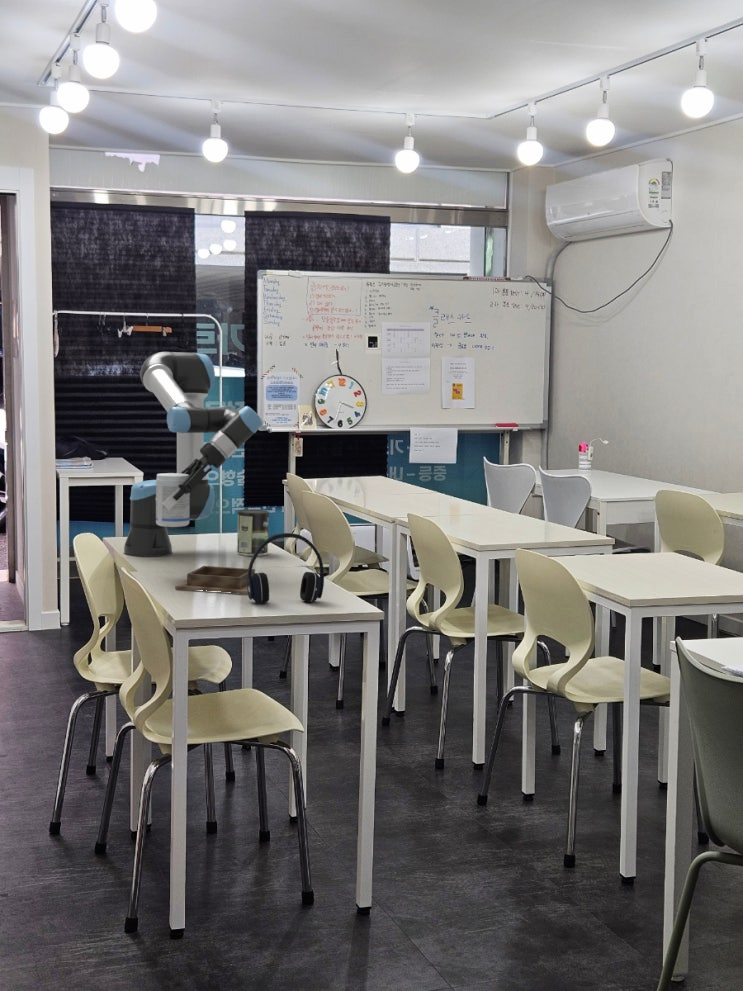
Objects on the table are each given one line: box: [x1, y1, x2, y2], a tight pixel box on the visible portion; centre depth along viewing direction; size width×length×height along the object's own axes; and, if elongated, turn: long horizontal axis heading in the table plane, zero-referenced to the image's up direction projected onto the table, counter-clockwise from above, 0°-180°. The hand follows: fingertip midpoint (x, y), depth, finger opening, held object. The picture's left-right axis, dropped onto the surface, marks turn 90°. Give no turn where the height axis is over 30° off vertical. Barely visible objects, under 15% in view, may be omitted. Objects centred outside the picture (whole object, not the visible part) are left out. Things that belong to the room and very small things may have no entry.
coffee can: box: [236, 509, 270, 557], centre depth 386 cm, size 10×10×14 cm
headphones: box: [247, 532, 325, 604], centre depth 308 cm, size 20×7×18 cm, turn 108°
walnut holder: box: [174, 565, 256, 595], centre depth 328 cm, size 20×20×4 cm
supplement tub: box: [155, 472, 190, 528], centre depth 338 cm, size 10×10×15 cm
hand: (161, 504), depth 337 cm, fingers closed on supplement tub, 9 cm apart
